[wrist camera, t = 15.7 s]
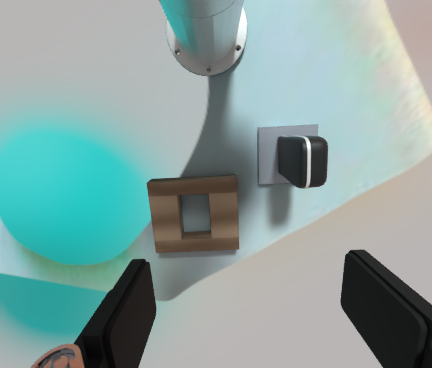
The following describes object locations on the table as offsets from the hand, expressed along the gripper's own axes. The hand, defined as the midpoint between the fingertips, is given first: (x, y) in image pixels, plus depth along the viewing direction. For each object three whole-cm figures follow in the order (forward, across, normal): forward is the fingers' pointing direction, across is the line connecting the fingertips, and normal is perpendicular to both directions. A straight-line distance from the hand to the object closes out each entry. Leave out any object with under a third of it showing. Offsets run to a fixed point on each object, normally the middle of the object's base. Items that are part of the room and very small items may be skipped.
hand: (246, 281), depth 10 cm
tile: (+30, -11, -2) cm, 32 cm away
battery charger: (+30, -11, -2) cm, 32 cm away
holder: (+30, +6, +8) cm, 32 cm away
